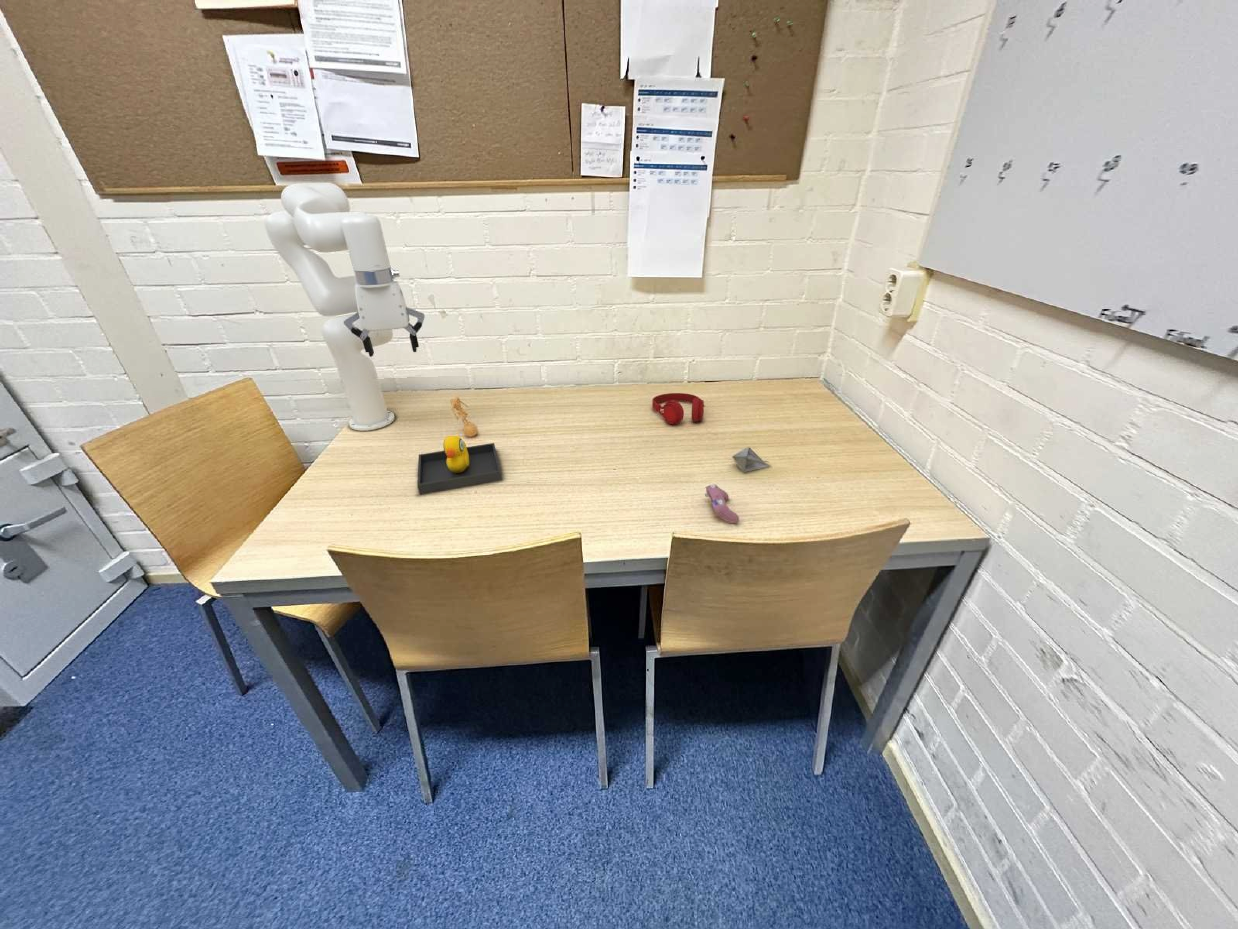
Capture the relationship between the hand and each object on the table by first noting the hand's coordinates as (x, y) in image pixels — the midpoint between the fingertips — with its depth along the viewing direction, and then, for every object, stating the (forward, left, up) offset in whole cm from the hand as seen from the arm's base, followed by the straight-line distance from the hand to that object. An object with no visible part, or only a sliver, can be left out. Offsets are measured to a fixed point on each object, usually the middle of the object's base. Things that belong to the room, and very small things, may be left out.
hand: (393, 352), depth 118 cm
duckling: (+13, +10, -28) cm, 32 cm away
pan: (+13, +10, -28) cm, 32 cm away
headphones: (-1, +76, -28) cm, 81 cm away
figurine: (-7, +13, -28) cm, 32 cm away
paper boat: (+36, +79, -28) cm, 91 cm away
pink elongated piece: (+49, +64, -28) cm, 85 cm away
